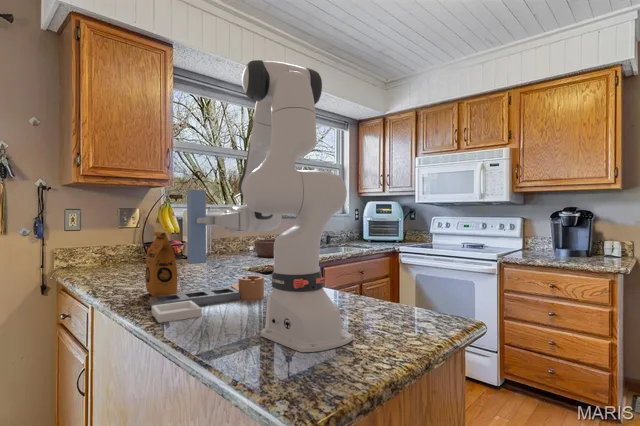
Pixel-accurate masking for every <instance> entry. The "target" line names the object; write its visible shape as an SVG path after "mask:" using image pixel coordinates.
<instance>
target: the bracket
mask: <svg viewBox="0 0 640 426" xmlns="http://www.w3.org/2000/svg"><path fill="white" fill-rule="evenodd" d="M264 285H265V278H264V276H263V275H247V277H246V276H240V277H238V283H233V284H231V285H230V288H233V289H235V290H237V291H239V292H241V300H240V301H249V302H250V301H252V302H253V301H259V300H262V299H264V297H265V294H264V293H265V291H264V289H265V286H264Z"/></svg>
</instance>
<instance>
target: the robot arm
mask: <svg viewBox="0 0 640 426" xmlns="http://www.w3.org/2000/svg"><path fill="white" fill-rule="evenodd" d="M241 82H242V84H241V85H242V88H243V91H244V94H245V95H246V97H247V98H248V99H251V100H253V101H256V103H255V106H254V112H253V120H252V129H251V130H252V131H251V136H250V140H249V145H248V149H247V156H246V162H245V168H244V171H243V172H242V175H241V177H240V178H239V182H238V186H237V188H238V192H239V193H240V195H241V196H242V197H243V200H244V202H245V204H246V206H229V207H228V209H227V210H225V211H223V213H220V214H216V213H215V214H206V217H201V218H196V223H206V226H211V227H220V228H221V227H222V228H224V229H225V230H227V231H228V232H229V233H230V234H235V233H239V234H240V233H248V232H254V233H263V232H270V231H275V230H276V229H278V228H279V227H280V225H281V223H282V220H283V215H285V216H287V215H289V216H291V215H295V216H296V220H295V223H293V224H294V225H292V227H290V228H288V229H286V230H284V231H283V232H281V233H279V235H278V236H276V238H275V239H276V240H275V242H274V257H273V270H272V272H271V286H272V288H273V289H272V291H271V294H269V296H268V298H267V299H266V309H265V310H266V313H265V324H264V325H265V327H264V328H263V329H260V334H259V335H260V336H261V337H262V338H266V339H268V340H269V341H272V342H274V343H277V344H280V345H282V346H284V347H287V348H290V349H292V350H295V351H297V352H299V353H313V352H314V353H315V352H321V351H322V352H323V351H327V350H330V349H335V348H338V347H343V346H344V345H347V344H349V343H351V342H352V341H353V339H354V338H353V335H352V334H351V333H350V332H348V331H347V330H345V329H344V328H343V327H342V315H341V312H340V307H339V306H338V305H335V304H334V302H333V300H332V299H331V298H330V297H329V295H328V293H327V292H326V291H325V289H324V283H326V281H324V280H325V279H326V277H323V276H322V273H321V271H320V250H321V239H322V235H323V233H324V230H325V228H326V226H327V224H328V223H329V221H330V220H331V219H332V218H333V216H334V215H336V214H337V213H338V212H339V211H340V210H341V209H342V208H343V207H344V204H345V203H346V200H347V197H348V195H347V193H348V191H347V186H346V183H345V181H344V179H343V177H341V175H339V174H335V173H331V172H328V171H325V170H324V171H323V170H310V169H308V170H306V169H296V160H298V159H301V158H302V157H305V156H307V155H308V154H310V153H311V152H313V150H314V149H315V147H316V145H317V140H318V139H317V122H316V121H317V120H316V119H317V118H316V107H315V105H316V104H317V103H319V101H320V98H321V97H322V90H323V80H322V77H321V75H320V73H319V72H318V71H316V70H315V69H312V68H309V67H306V68H305V67H302V66H298V65H294V64H290V63H286V62H281V61H269V60H266V61H264V60H262V59H254V60H253V59H252V60H250V61H248V63H246V65H245V68H244V70H243V73H242V77H241Z"/></svg>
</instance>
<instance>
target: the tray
mask: <svg viewBox="0 0 640 426" xmlns="http://www.w3.org/2000/svg"><path fill="white" fill-rule="evenodd" d="M202 309H203V308H202V307H200V306H198V305H196V304H195V303H194V302H193V301H184V302H176V303H169V304H161V305H153V306H152V308H151V315H152V316H153V317H154V318H155V320H156V321H157V323H158V324H159V323H167V322H172V321H179V320H186V319H187V320H188V319H192V318H197V317H202V316H203V310H202Z"/></svg>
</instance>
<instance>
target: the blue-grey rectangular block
mask: <svg viewBox="0 0 640 426" xmlns="http://www.w3.org/2000/svg"><path fill="white" fill-rule="evenodd" d="M206 195H207V192H206V190H204V189H189V190H187V191H186V213H187V214H186V226H187V227H186V228H187V230H186V233H187V234H186V235H187V236H186V240H187V243H186V244H187V245H186V246H187V249H186V251H187V252H186V254H187V255H186V256H187V259H186V260H187V263H188V264H190V265H198V264H206V263H207V225H206V223H196V218H201V217H206V215H207V208H206V207H207V197H206Z"/></svg>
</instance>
